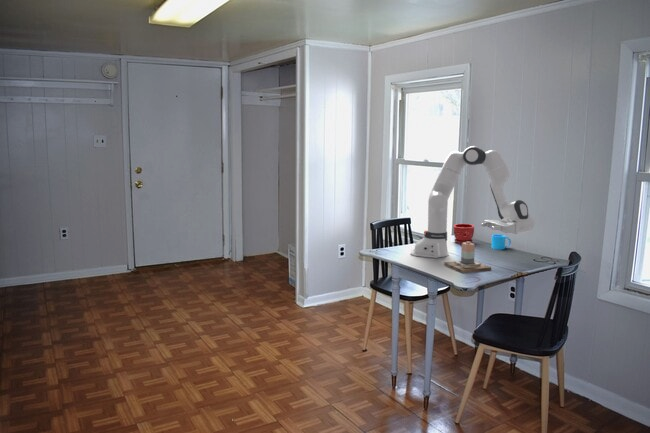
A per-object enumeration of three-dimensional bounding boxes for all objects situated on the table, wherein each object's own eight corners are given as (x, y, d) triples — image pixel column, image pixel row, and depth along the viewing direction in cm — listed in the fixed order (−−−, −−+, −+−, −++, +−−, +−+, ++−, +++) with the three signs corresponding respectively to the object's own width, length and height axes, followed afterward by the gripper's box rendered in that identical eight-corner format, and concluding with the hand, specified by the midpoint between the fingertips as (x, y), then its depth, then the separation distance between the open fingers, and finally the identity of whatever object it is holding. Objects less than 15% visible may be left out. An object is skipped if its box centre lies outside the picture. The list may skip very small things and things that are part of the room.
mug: (493, 249, 326) (494, 237, 325) (489, 246, 334) (490, 234, 333) (512, 249, 326) (513, 236, 325) (508, 246, 334) (509, 234, 333)
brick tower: (460, 264, 286) (461, 241, 284) (468, 263, 288) (469, 240, 286) (466, 266, 282) (467, 243, 280) (474, 265, 283) (475, 242, 281)
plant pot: (451, 240, 353) (452, 223, 351) (471, 240, 351) (472, 223, 349) (454, 244, 340) (455, 227, 338) (475, 245, 339) (475, 227, 337)
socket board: (444, 264, 291) (444, 260, 290) (471, 262, 296) (471, 257, 296) (462, 273, 274) (462, 268, 273) (491, 269, 280) (491, 265, 279)
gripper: (496, 216, 299) (476, 217, 294) (520, 223, 280) (499, 224, 275) (495, 227, 300) (475, 228, 295) (519, 234, 281) (498, 235, 276)
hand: (487, 226), depth 285 cm, fingers open, 8 cm apart
